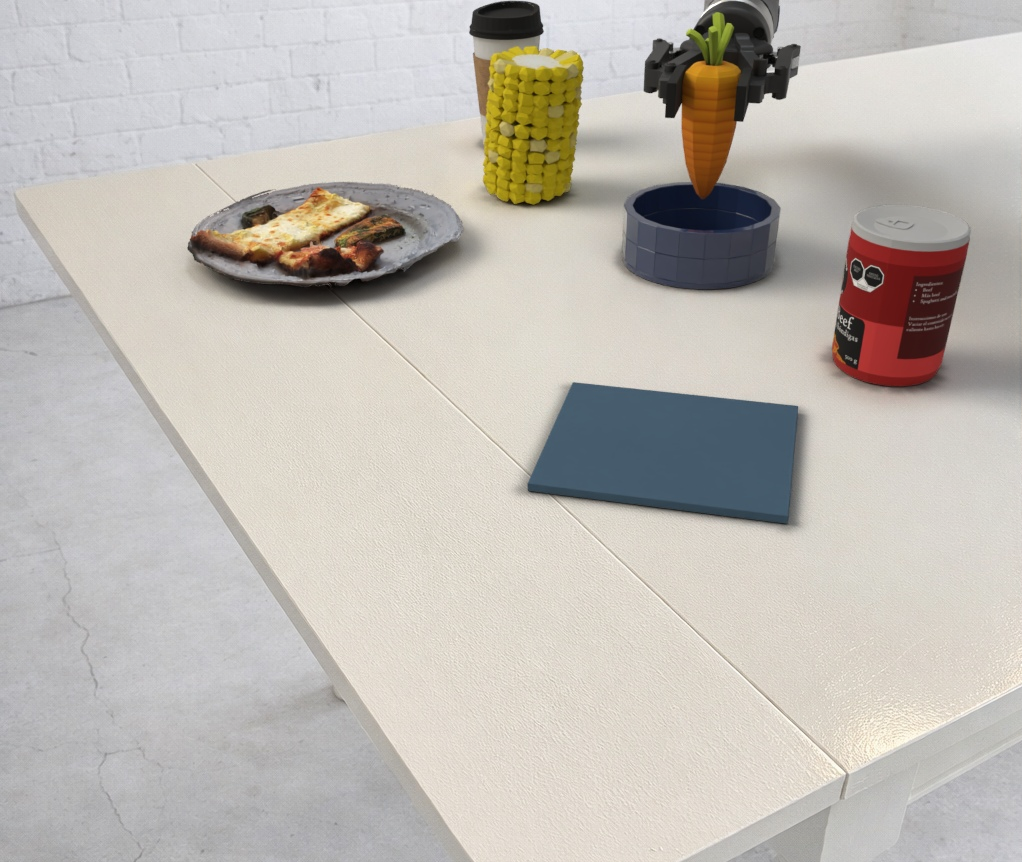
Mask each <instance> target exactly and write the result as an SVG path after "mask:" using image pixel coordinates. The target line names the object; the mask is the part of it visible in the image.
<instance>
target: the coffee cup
mask: <svg viewBox="0 0 1022 862" xmlns="http://www.w3.org/2000/svg"><path fill="white" fill-rule="evenodd" d="M471 15H472V16H471V23H470V25H469V31H468V34H469V35H470V36H472V41H473V42H472V43H473V53H472V58H473V59H472V60H473V67H474V77H475V84H476V85H475V86H476V94H477V102H478V109H479V111H478V112H479V116H480V126H481V127H480V128H481V137H482V144H483V147H484V146H485V145H484V141H485V138H486V134H485V124H486V123H487V120H486V114H487V110H486V108H487V106H486V105H487V102H488V100H487V96H488V91H489V89H490V88H489V86H488V82H489V80H490V71H489V67H490V62H491V56H492V55H493V53H502V52H503V51H507V52H508V50H509V49H511V48H513V47H516V46H518V47H519V48H520V49H522V50H523V49H524V48H525V47H529V46H536V47H537V48H538V50H539V51H540V45H541V44H540V42H541V35H543V34H544V32H545V31H544V24H543V22H542V17H541V7H540V5H539V4H538V3H536V2H532V1H527V0H501V1H495V2H492V3H488V4H485V5H482V6H480V7H477V8H475V9H474V10H473V11H472V14H471Z"/></svg>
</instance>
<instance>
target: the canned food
mask: <svg viewBox="0 0 1022 862" xmlns="http://www.w3.org/2000/svg"><path fill="white" fill-rule="evenodd" d="M971 231H972V230H971V226H970V224H969V223H968V222H966V221H965V220H964V219H963V218H961V217H959V216H957V215H955V214H952V213H949V212H947V211H944V210H941V209H936V208H931V207H926V206H919V205H909V204H885V205H877V206H870V207H867V208H864V209H861V210H860V211H858V212H856V213H855V215H854V216H853V220H852V223H851V226H850V234H849V238H848V243H847V250H846V256H845V263H844V267H843V268H844V269H843V275H842V282H841V286H840V287H841V288H840V293H839V301H838V306H837V314H836V320H835V327H834V331H833V339H832V344H831V352H832V358H833V361H834V364H835V366H836V367H837V368H838V369H839V370H841V371H842V372H843V373H844V374H846V375H848V376H849V377H852V378H854V379H856V380H858V381H862V382H865V383H869V384H873V385H878V386H883V387H884V386H885V387H911V386H917V385H920V384H924V383H926V382H929V381H930V380H932V379H933V378H934V377H935V375H936V374H937V372H938V371H939V369H940V367H941V366H942V363H943V361H944V355H945V351H946V347H947V342H948V339H949V334H950V329H951V325H952V322H953V321H952V320H953V316H954V312H955V308H956V304H957V299H958V294H959V291H960V286H961V281H962V278H963V274H964V269H965V265H966V260H967V256H968V250H969V249H968V248H969V245H970V241H971V233H972V232H971Z"/></svg>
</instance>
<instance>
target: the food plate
mask: <svg viewBox="0 0 1022 862" xmlns="http://www.w3.org/2000/svg"><path fill="white" fill-rule="evenodd" d="M463 232H464V225H463V220H461V218H460V216H459V215H458V214H457V212H456V210H455V209H454V208H453V207H452V205H451V204H449V203H447V202H446V201H444V200H442V199H440V198H439V197H437V196H435V195H434V193H432V194H430V193H428V191H426V193H425V191H423V190H419V189H413V188H411V187H410V188H409V187H403V186H402V187H401V186H398V184H396V185H395V184H391V183H384V182H380V183H379V182H376V183H375V182H374V183H373V182H362V181H361V182H359V181H330V182H329V181H328V182H317V183H309V184H302V185H298V186H292V187H288V188H281V189H276V188H274V189H273V190H272V189H267V190H264V191H261V192H258V193H254V194H252V195H249V196H247V197H245V198H242V199H240V200H239V201H236V202H234V203H232V204H230V205H227V206H225V207H223V208H222V209H220V210H217V211H216V212H214V213H213V214H212V215H207V216H206V217H205V218H203V219H202V220H201V221H199V222H198V224H196V225H195V226H194V228H193V230H192V231H191V235H190V238H189V241H187V248H186V249H187V251H188V253H190V254H191V255H192V257H193V261H195V262H196V263H199V264H201V265H203V266H204V267H206V268H208V269H210V270H212V271H215V272H216V273H219V274H223V275H224V276H225V277H228V278H229V279H231V280H232V281H233V280H237V281H242V282H248V283H250V284H251V283H252V284H265V285H270V284H272V285H274V284H275V285H277V284H278V285H290V286H294V287H302V288H308V287H311V286H316V287H321V286H327V285H328V286H329V290H330V291H331V290H333V285H332V284H331V283H334V285H335V286H340V287H342V286H343V287H344V286H346V285H347V286H348V284H349V283H350V282H352V281H353V280H357V279H360V280H361V282H362V283H363V282H369V281H372V280H374V279H377V278H380V277H382V276H385V275H390V274H395V273H396V272H397V270H402V271H403V272H406V271H407V270H408V269H409V268H410V267H412V266H413V265H414V264H415V263H416V262H419V261H421V260H422V259H423V258H424V257H426V256H429V255H431V254H432V253H436V252H437V251H438V249H439V248H442V247H444V246H445V244H447V243H449V242H452V243H454V242H455V243H456V242H458V241H459V240H460V237H462V235H463V234H464V233H463Z"/></svg>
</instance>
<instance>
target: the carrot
mask: <svg viewBox="0 0 1022 862" xmlns="http://www.w3.org/2000/svg"><path fill="white" fill-rule="evenodd" d="M693 29H694V28H689V29H687V31H686V33H685V36H686V37H688V39H689V38H691V39H692V40H694V41H695V43H696V44H697V45H698V46H699V48H700V49H701V51H702V54H703V56H704V59H705V61H700V62H696V63H694V64H693V65H692V66H691V67H690V68H689V69H688V70H687V71H686V72H685V74H684V77H683V88H682V104H681V128H680V129H681V138H682V148H683V155H684V162H685V166H686V170H687V173H688V177H689V179H690V182H692V184H693V187H694V189H695V191H696V194H697V195H698V196H699V197H700V198H701V199H705V198H706V197H707V196H708V195H709V194H710V193H711V191H712V189H713V188H714V186H715V184H716V183H718V181H719V179H720V177H721V175H722V173H723V170H724V169H725V167H726V164H727V161H728V158H729V156H730V155H729V154H730V151H731V147H732V144H733V141H734V137H735V133H736V128H737V122H738V121H734V112H735V101H736V90H737V84H738V82H739V79H740V76H741V73H742V72H741V70H740V69H739V68H738V67H737V66H736V65H734V64H732V63H729V62H726V61H722V60H723V54H724V52H725V50H726V47H727V45H728V43H729V41H730V38H731V36H732V33H733V30H734V27H733V25H732V24H731V23H727V24H726V26H725V20H724V15H723V14H722V13H718V12H717V13H714V14H713V26H711V27H710V28H709V38H707V39H706V40H705V41H704V39H703V37H702V36H701V34H700V33H698V32H697V31H695V30H693Z"/></svg>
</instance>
